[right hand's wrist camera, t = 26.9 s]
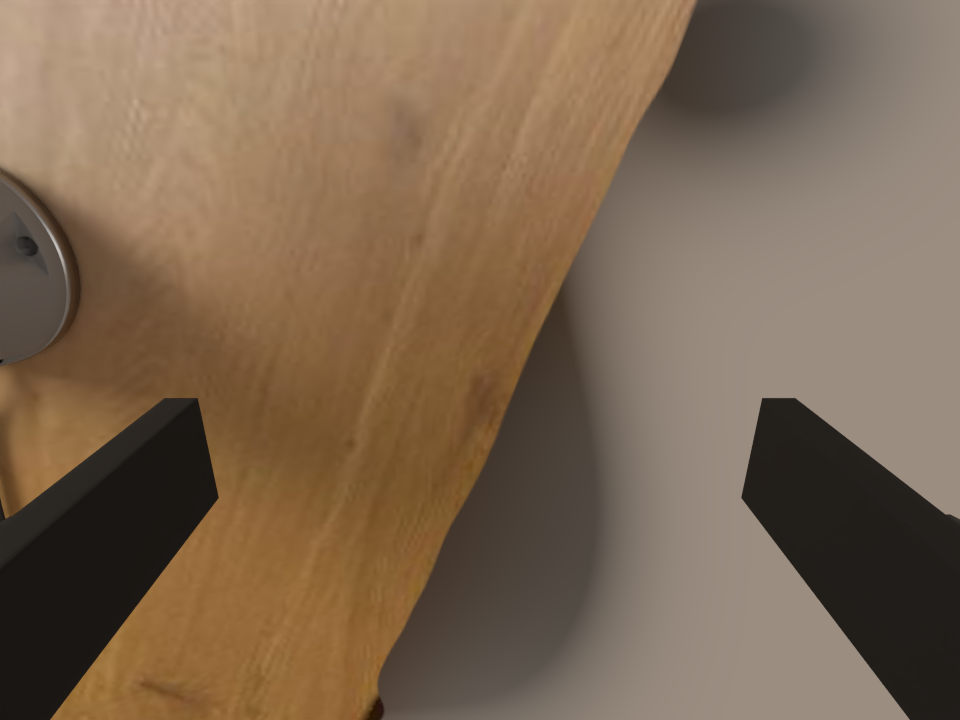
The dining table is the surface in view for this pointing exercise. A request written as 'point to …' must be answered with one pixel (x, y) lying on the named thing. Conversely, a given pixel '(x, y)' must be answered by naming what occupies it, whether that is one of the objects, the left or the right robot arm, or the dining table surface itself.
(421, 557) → the dining table surface
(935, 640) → the right robot arm
